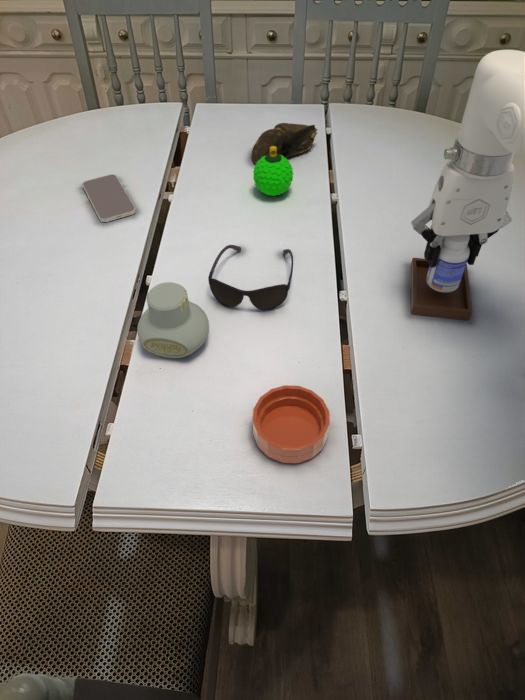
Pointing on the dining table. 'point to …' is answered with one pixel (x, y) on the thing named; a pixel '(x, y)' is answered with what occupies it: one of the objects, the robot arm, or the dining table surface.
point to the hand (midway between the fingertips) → (449, 259)
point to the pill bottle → (449, 264)
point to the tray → (438, 295)
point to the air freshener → (172, 322)
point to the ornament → (273, 173)
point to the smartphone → (108, 198)
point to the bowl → (290, 424)
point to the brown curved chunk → (284, 140)
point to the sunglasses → (259, 297)
